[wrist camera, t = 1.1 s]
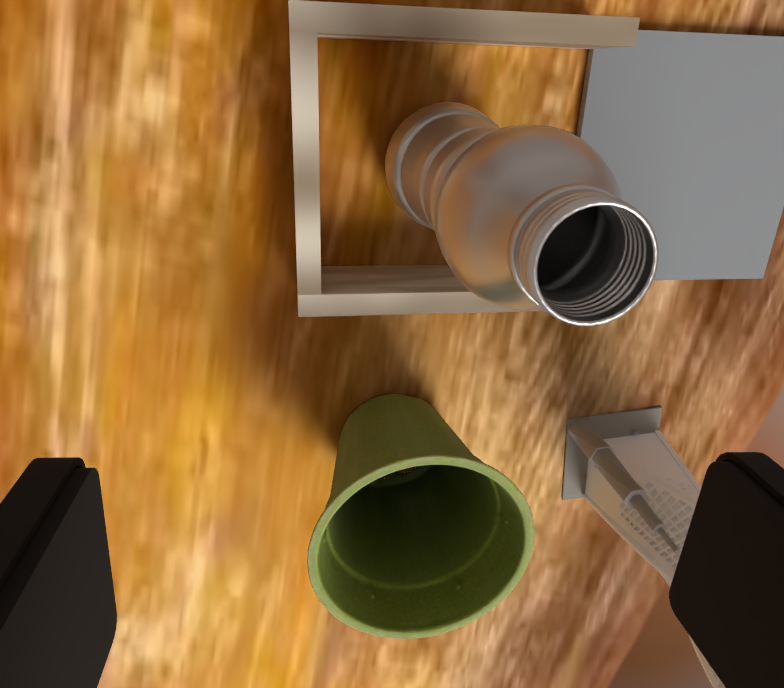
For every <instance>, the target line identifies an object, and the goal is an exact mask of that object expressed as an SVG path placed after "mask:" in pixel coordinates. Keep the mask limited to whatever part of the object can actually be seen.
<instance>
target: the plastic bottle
mask: <svg viewBox="0 0 784 688" xmlns="http://www.w3.org/2000/svg"><path fill="white" fill-rule="evenodd" d="M385 174H386V181H387V185H388V188H389V190H390V193H391V196H392V197H393V199H394V201H395V202H396V204H397V206H398V207H399V208H400V209H401V210H402V211H403V212H404V213H405V214H406V215H407V216H408V217H410V218H411V219H412V220H414V221H415V222H417V223H419V224H421V225H423V226H425V227H427V228H430V229H432V230H434V231H435V234H436V237H437V241H438V244H439V246H440V249H441V252H442V255H443V256H444V258H445V260H446V262H447V264H448V265H449V267H450V269H451V270H452V272H453V274H454V275H455V277H456V278H457V279H458V280H459V281H460V282H461V283H462V284H463V285H464V286H465V288H467V289H468V290H469V291H471V292H472V293H474V294H475V295H476V296H478V297H479V298H481V299H484V300H486V301H488V302H490V303H493V304H496V305H500V306H504V307H508V308H513V309H517V310H541V309H544V310H545V311H546V312H548V313H549V314H550V315H552V316H553V317H554V318H557V319H559V320H561V321H563V322H566V323H568V324H572V325H577V326H595V325H601V324H605V323H607V322H610V321H613V320H615V319H617V318H619V317H621V316H622V315H624V314H626V313H627V312H628V311H630V310H631V309H632V308H633V307H635V306H636V305H637V304H638V302H639V301H640V300H641V299H642V298H643V297H644V295H645V294H646V292H647V291H648V289H649V288H650V286H651V284H652V282H653V279H654V277H655V274H656V270H657V266H658V259H659V248H658V242H657V237H656V235H655V232H654V230H653V227H652V226H651V224H650V223H649V221H648V220H647V219H646V217H645V216H644V215H643V214H641V213H640V212H639V211H638V210H637V209H636V208H635V207H633V206H631V205H630V204H628V203H626V202H624V201H622V196H621V191H620V188H619V186H618V183H617V181H616V179H615V176H614V174H613V173H612V172H611V170H610V169H609V167H608V166H607V165H606V163H605V162H604V160H603V159H602V158H601V156H600V155H599V153H598V152H597V151H596V150H595V149H594V148H592V147H591V146H590V145H589V144H588V143H587V142H586V141H585V140H583V139H581V138H579V137H578V136H576V135H574V134H572V133H570V132H568V131H565V130H561V129H558V128H555V127H549V126H535V125H519V126H512V127H506V128H499V127H498V125H497V124H495V123H494V122H493V121H492V120H491V119H490V118H488V117H487V116H486V115H485V114H484V113H483V112H481V111H479V110H477V109H475V108H474V107H472V106H469V105H466V104H462V103H458V102H440V103H433V104H431V105H428V106H425V107H422V108H420V109H419V110H417V111H416V112H414V113H412V114H411V115H409V116H408V117H407V118H406V119H405V120H404V121H403V122H402V123H401V124H400V125H399V126H398V128H397V129H396V130H395V132H394V133H393V135H392V138H391V140H390V142H389V144H388V148H387V153H386V158H385Z"/></svg>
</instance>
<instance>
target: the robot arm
mask: <svg viewBox="0 0 784 688" xmlns="http://www.w3.org/2000/svg"><path fill="white" fill-rule="evenodd" d="M669 599H670V604H671V607H672V609H673V612H674V614H675V615H676V617H677V618H678V620H679V621H680V622H681V624H682V625H683V627H684V628H685V630H686V631H687V633H688V634H689V636H690V637H691V638H692V640H693V641H694V643H695V644H696V646H697V647H698V649H699V650H700V651H701V653H702V654H703V656H704V657H705V659H706V660H707V662H708V663H709V664H710V666H711V667H712V669H713V670H714V672H715V673H716V675H717V676H718V677H719V679H720V680H721V682H722V683H723V685H724V686H725V688H784V469H783V468H782V467H781V466H779V465H778V464H777V463H776V462H774V461H773V460H772V459H771V458H769V457H768V456H766V455H765V454H763V453H758V452H726V453H723V454H721V455H720V456H719V457H718V458H717V460H716V462H713V463H711V464H710V465H709V467H708V469H707V472H706V475H705V478H704V481H703V484H702V488H701V491H700V494H699V497H698V500H697V503H696V507H695V510H694V513H693V516H692V519H691V522H690V526H689V529H688V532H687V535H686V538H685V542H684V545H683V548H682V551H681V554H680V557H679V561H678V564H677V567H676V570H675V573H674V577H673V580H672V583H671V586H670V591H669ZM116 623H117V612H116V603H115V596H114V588H113V580H112V572H111V565H110V557H109V549H108V541H107V534H106V526H105V518H104V510H103V503H102V495H101V487H100V479H99V474H98V471H97V469H95V468H86V467H85V464H84V462H83V460H82V459H81V458H36V459H34V460H33V461H32V462H31V463H30V464H29V465H28V467H27V468H26V469H25V471H24V472H23V473H22V475H21V476H20V478H19V479H18V480H17V482H16V483H15V484H14V486H13V487H12V489H11V490H10V491H9V493H8V494H7V495H6V497H5V498H4V499H3V501H2V502H1V504H0V688H97V686H98V683H99V680H100V677H101V674H102V671H103V669H104V666H105V663H106V660H107V657H108V654H109V651H110V648H111V646H112V643H113V639H114V636H115V631H116Z"/></svg>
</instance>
